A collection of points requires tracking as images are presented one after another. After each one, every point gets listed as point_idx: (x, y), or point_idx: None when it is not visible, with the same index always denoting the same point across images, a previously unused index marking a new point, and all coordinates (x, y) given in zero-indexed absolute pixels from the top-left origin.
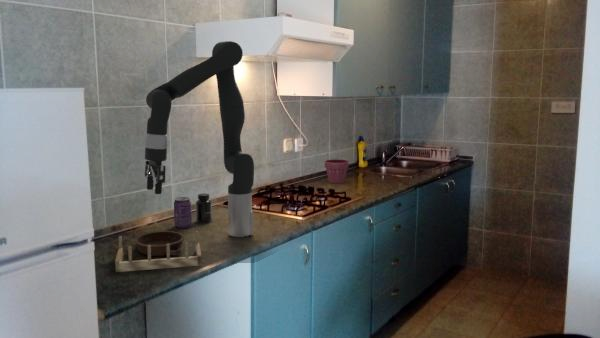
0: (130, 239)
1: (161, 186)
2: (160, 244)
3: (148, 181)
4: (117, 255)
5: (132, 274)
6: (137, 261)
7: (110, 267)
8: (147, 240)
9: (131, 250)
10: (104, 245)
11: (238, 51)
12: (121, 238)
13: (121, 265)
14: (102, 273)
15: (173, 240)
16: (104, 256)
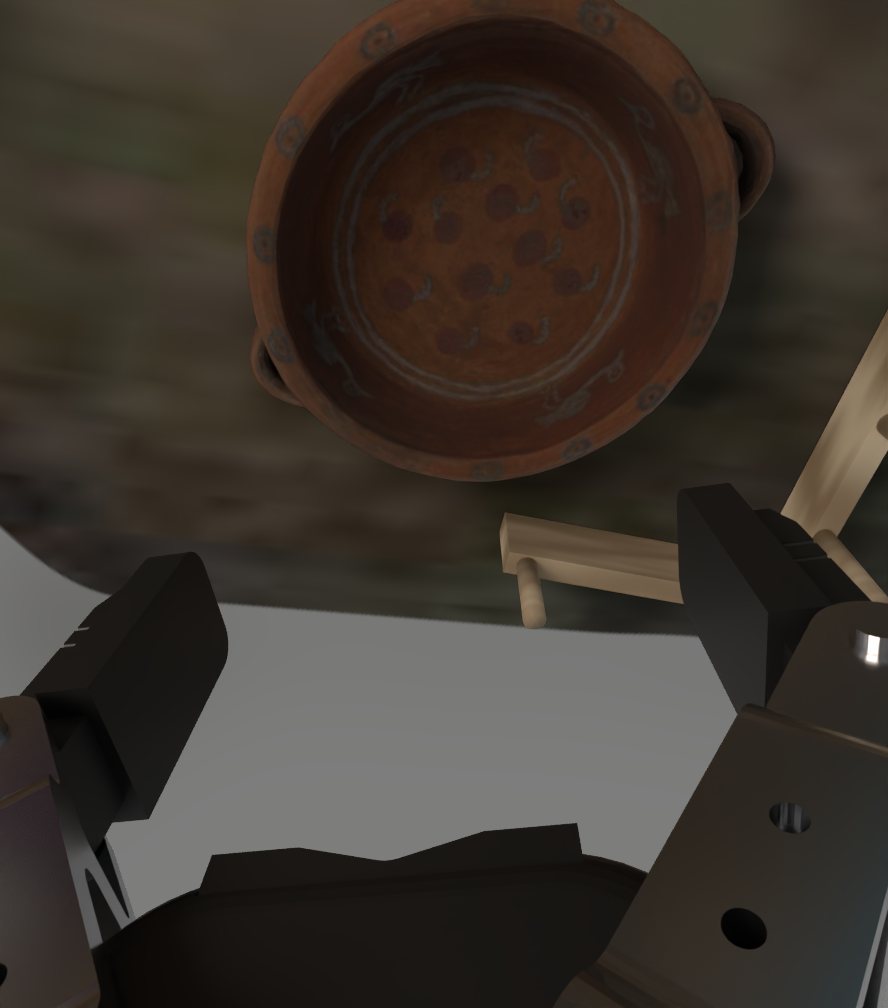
0: (118, 419)
1: (792, 568)
2: (385, 228)
3: (161, 766)
4: None
5: (871, 507)
6: (853, 500)
7: None
8: (329, 340)
9: (870, 578)
10: (222, 583)
11: None
12: (540, 603)
13: None
14: None
15: (395, 94)
16: (450, 602)
